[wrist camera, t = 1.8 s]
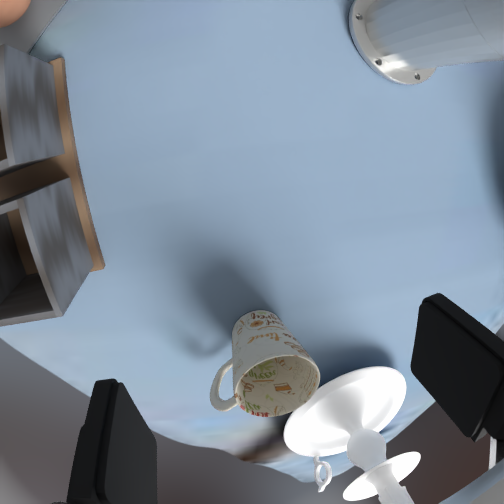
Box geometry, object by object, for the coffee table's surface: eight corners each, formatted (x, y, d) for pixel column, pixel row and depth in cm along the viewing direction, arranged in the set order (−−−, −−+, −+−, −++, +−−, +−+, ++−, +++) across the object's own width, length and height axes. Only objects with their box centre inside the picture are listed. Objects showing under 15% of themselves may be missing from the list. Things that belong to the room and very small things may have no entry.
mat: (23, -39, 16) (22, -40, 16) (82, -17, 20) (81, -18, 20) (-33, 39, 18) (-35, 38, 18) (18, 69, 22) (17, 68, 22)
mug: (304, 326, 39) (336, 379, 29) (233, 387, 40) (246, 446, 31) (258, 286, 36) (283, 339, 26) (183, 357, 37) (186, 418, 28)
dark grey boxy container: (-19, 96, 22) (-81, 93, 12) (64, 59, 23) (13, 31, 13) (24, 283, 30) (-20, 335, 20) (105, 265, 31) (75, 321, 21)
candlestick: (252, 457, 47) (293, 599, 21) (310, 348, 40) (417, 536, 14) (350, 452, 53) (407, 561, 27) (417, 356, 46) (520, 474, 20)
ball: (19, -19, 17) (-4, -38, 12) (50, -7, 19) (29, -27, 14) (-13, 25, 18) (-40, 13, 13) (16, 40, 20) (-12, 27, 15)
